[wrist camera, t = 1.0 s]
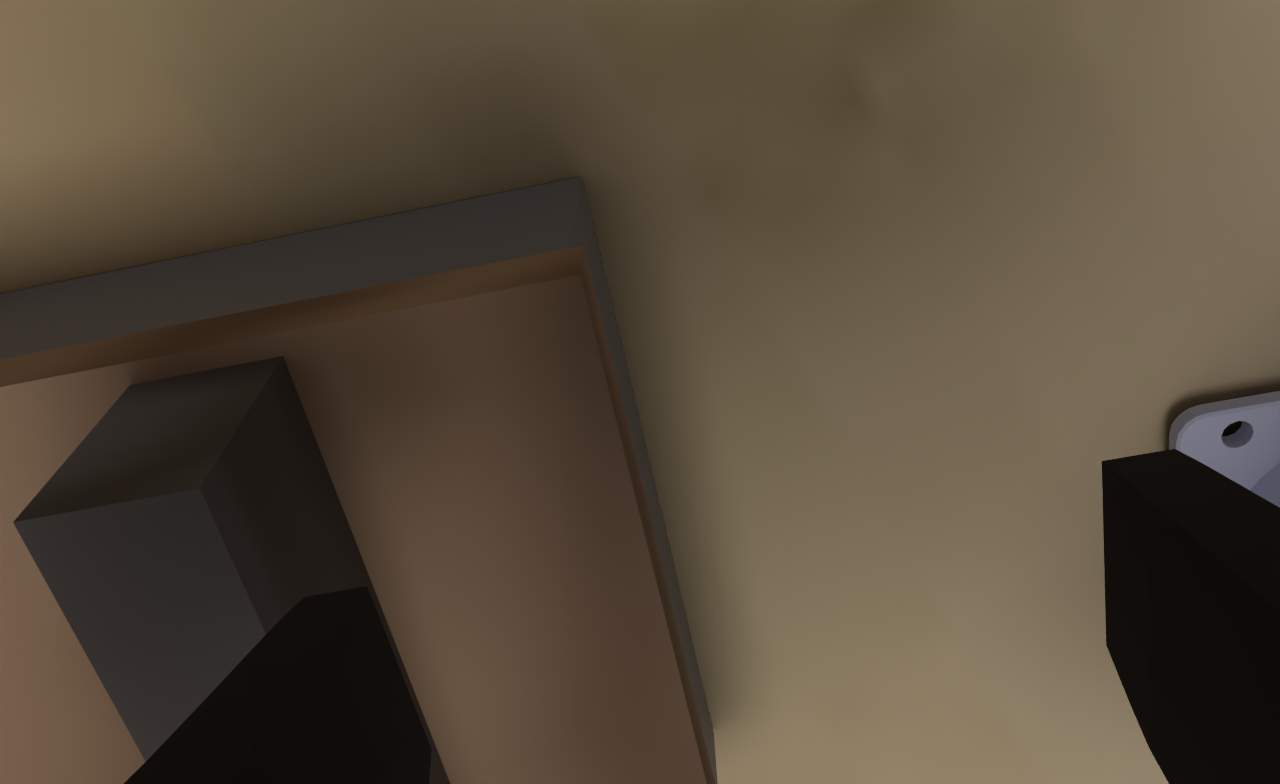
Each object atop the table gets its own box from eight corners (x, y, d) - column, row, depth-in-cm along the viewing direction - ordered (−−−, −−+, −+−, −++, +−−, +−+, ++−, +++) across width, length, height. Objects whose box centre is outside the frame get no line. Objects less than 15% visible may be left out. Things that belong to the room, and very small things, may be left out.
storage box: (581, 176, 18) (566, 265, 15) (713, 732, 24) (725, 890, 20) (-116, 317, 19) (-276, 428, 16) (164, 816, 25) (89, 978, 21)
